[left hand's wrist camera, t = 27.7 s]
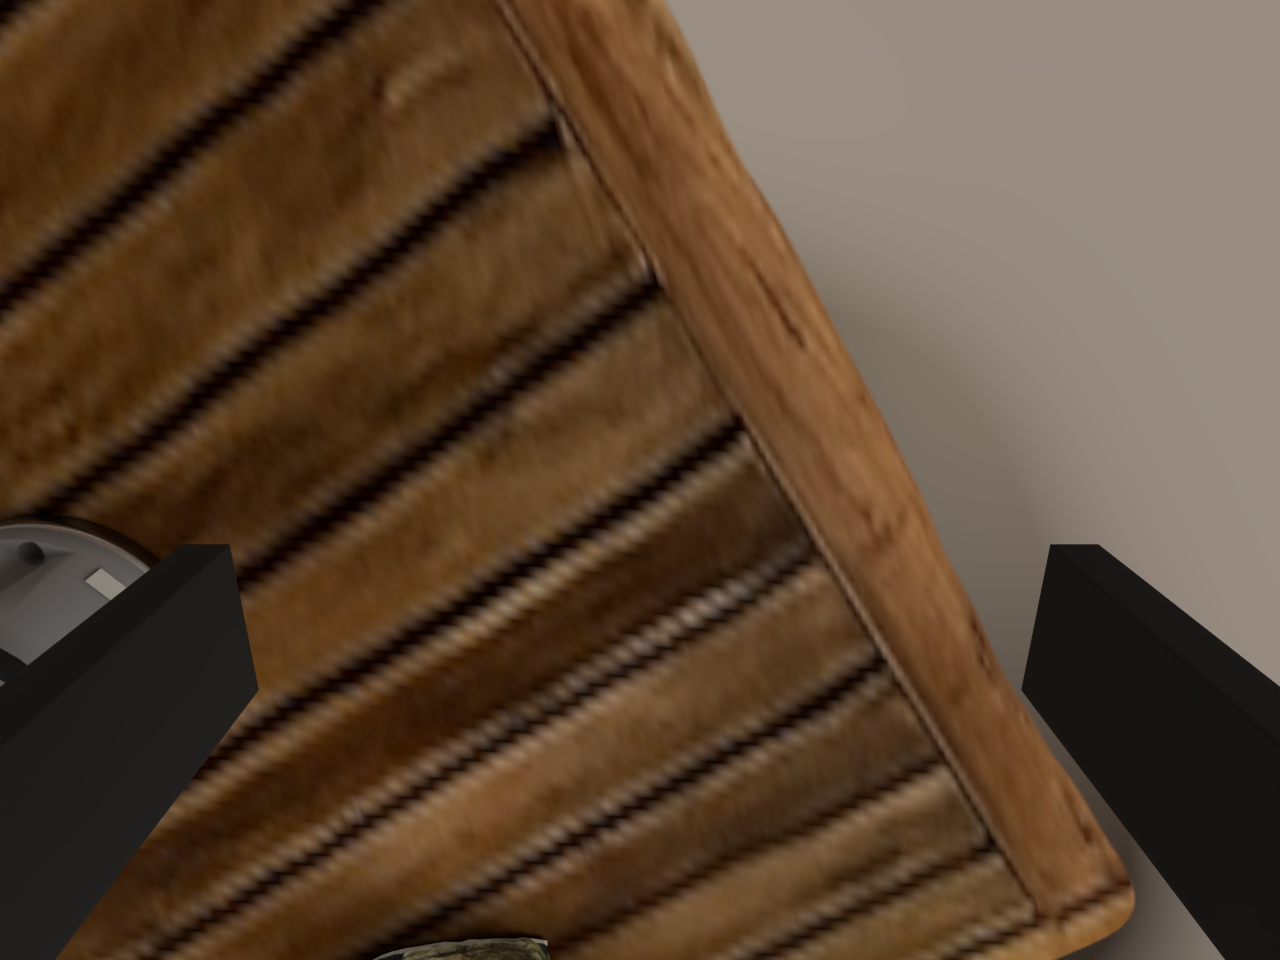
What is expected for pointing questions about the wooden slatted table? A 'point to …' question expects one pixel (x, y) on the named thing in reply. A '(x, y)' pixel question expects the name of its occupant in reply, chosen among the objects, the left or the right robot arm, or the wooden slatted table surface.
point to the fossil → (475, 950)
